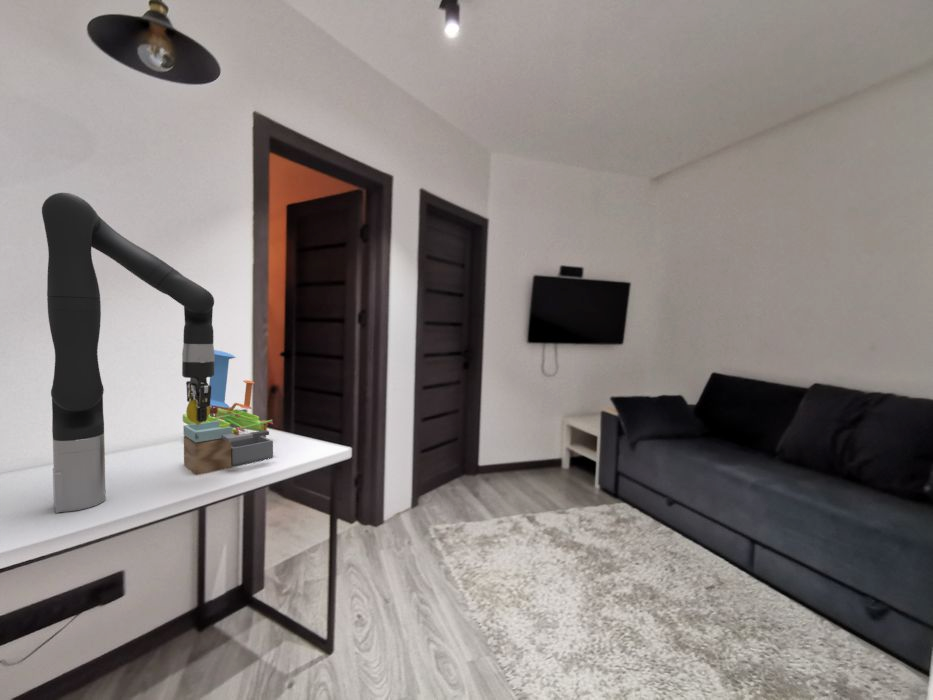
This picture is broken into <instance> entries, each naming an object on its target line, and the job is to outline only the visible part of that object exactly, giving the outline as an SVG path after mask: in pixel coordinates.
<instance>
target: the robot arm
mask: <svg viewBox="0 0 933 700" xmlns="http://www.w3.org/2000/svg"><path fill="white" fill-rule="evenodd" d="M41 216H42V221H43V225H44V230H45V237H46V243H47V250H48V262H47V279H46V280H47V284H46V286H47V288H46V289H47V290H46V297H47V298H46V299H47V315H48V316H47V317H48V324H49V330H50V334H51V339H52V343H53V348H54V372H53V380H52V385H51V390H50V395H51V407H52V409H51V410H52V412H51V413H52V420H51V421H52V422H51V423H52V426H51V428H52V429H51V430H52V454H53V458H52V459H53V468H52V483H53V484H52V486H53V491H52V492H53V508H54V511H55V514H57V513H62V512H66V513H67V512H75V511H76V512H77V511H79V510H85V509H88V508H92V507H95V506H97V505H100V504H102V503H103V502H104V501H105V500H106V498H107V497H106V495H107V494H106V492H107V491H106V458H105V457H106V452H105V450H106V449H105V446H106V445H105V419H104V392H105V391H104V390H105V389H104V385H103V381H102V378H101V377H102V376H101V371H100V366H99V356H98V349H99V348H98V347H99V340H100V334H101V333H100V331H101V319H102V318H101V317H102V311H101V309H102V308H101V307H102V305H101V293H100V286H99V282H98V277H97V274H96V270H95V267H94V266H95V265H94V263H93V259H92V257H93V256H92V248H93V249H95V250H96V251H98V252H100V253H102V254H104V255H105V256H107V257H108V258H110V259H112V260H113V261H115V262H116V263H117V264H118V265H120V266H122V267H123V268H124V269H126V270H127V271H128V272H129V273H131V274H132V275H134V276H136V277H137V278H139V279H140V280H141V281H142V282H145V284H147V285H149V286H150V287H152V288H153V289H155V290H157V291H158V292H160V293H162V294H164V295H167V296H169V297H170V298H171V299H173V300H174V301H176V302H177V303H179V304H180V305H181V306H182V307H183V310H184V313H183V315H184V326H183V347H182V352H181V353H182V354H181V356H182V361H181V362H182V363H181V365H182V366H181V369H182V371H181V375H182V377H183V378H187V379H189V380H188V381H186V383H185V384H186V401H187V402H188V403H189V402H190V401H191V400H193V399H194V401H196V405H197V406H196V407H197V421H198V422H203V421H206V420H207V408H208V406H210V400H211V388H212V387H211V385H209V383H208V380H207V378H210V377H212V376H214V350H215V348H214V328H213V327H214V326H213V311H214V305H215V298H214V296H213V294H212V293H211V292H210V291H209V290H208V289H206V288H205V287H202V286H201V285H199V284H198V283H196V282H195V281H193V280H191V279H189V278H188V277H186V276H185V275H183V274H182V273H181V272H180V271H178V270H177V269H175V268H174V267H172V266H170V265H169V264H167V262H165V261H163V260H162V259H161V258H159V257H157V256H156V255H155V254H153V253H151V252H149V251H147V250H146V249H144V248H142V247H140V246H139V245H137V244H135V243H134V242H132V241H130V240H129V239H128V238H125V236H124V235H121V234H120V233H119V232H118V231H116V230H115V229H114V228H112V226H110V225H109V224H108V223H107V222H106V221H105V220H104V219H103V218H101V216H99V214H98V213H97V212H96V210H95V209H94V208H93V206H91V204H90V203H89V202H87V201H86V200H85V199H83V198H82V197H80V196H78V195H75V194H74V193H73V194H72V193H69V192H57V193H53V194H51V195H50V196H48V197H47V198H46V199H44V202H43V203H42V207H41ZM202 400H204V402H202Z"/></svg>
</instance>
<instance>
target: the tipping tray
mask: <svg viewBox="0 0 933 700" xmlns="http://www.w3.org/2000/svg"><path fill="white" fill-rule="evenodd" d="M232 428H233V426H230V427H226V428H220V427H219V421H213V422H206V423H201V424H199V425H197V424H192V425H188V424H186V425H183V436H186V437H188V438H189V439H191V440H193V441H194V442H202V441H208V440H214V439H220V438H222V439H224V440H226V441H228V442H231V441H237V440H243V439H248V438H254V437H260V436H265V435H266V436H269V435H270V431H269V430H268V429H267V430H264V431H253V432H248V433H242V434H238V435H234V434H232Z"/></svg>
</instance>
